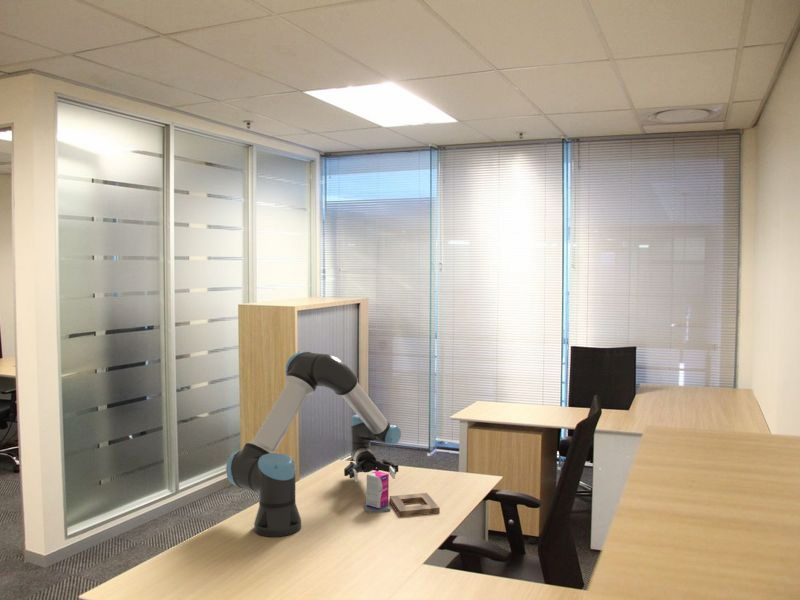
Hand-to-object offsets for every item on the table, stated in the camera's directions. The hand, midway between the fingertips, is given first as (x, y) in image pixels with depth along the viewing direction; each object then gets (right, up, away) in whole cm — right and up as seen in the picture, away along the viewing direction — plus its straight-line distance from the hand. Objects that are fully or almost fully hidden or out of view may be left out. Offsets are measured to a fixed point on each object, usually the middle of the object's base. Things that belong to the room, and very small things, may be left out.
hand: (375, 476), depth 249 cm
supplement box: (+1, -9, -4) cm, 10 cm away
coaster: (+1, -10, -4) cm, 11 cm away
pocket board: (+14, -10, -3) cm, 17 cm away
